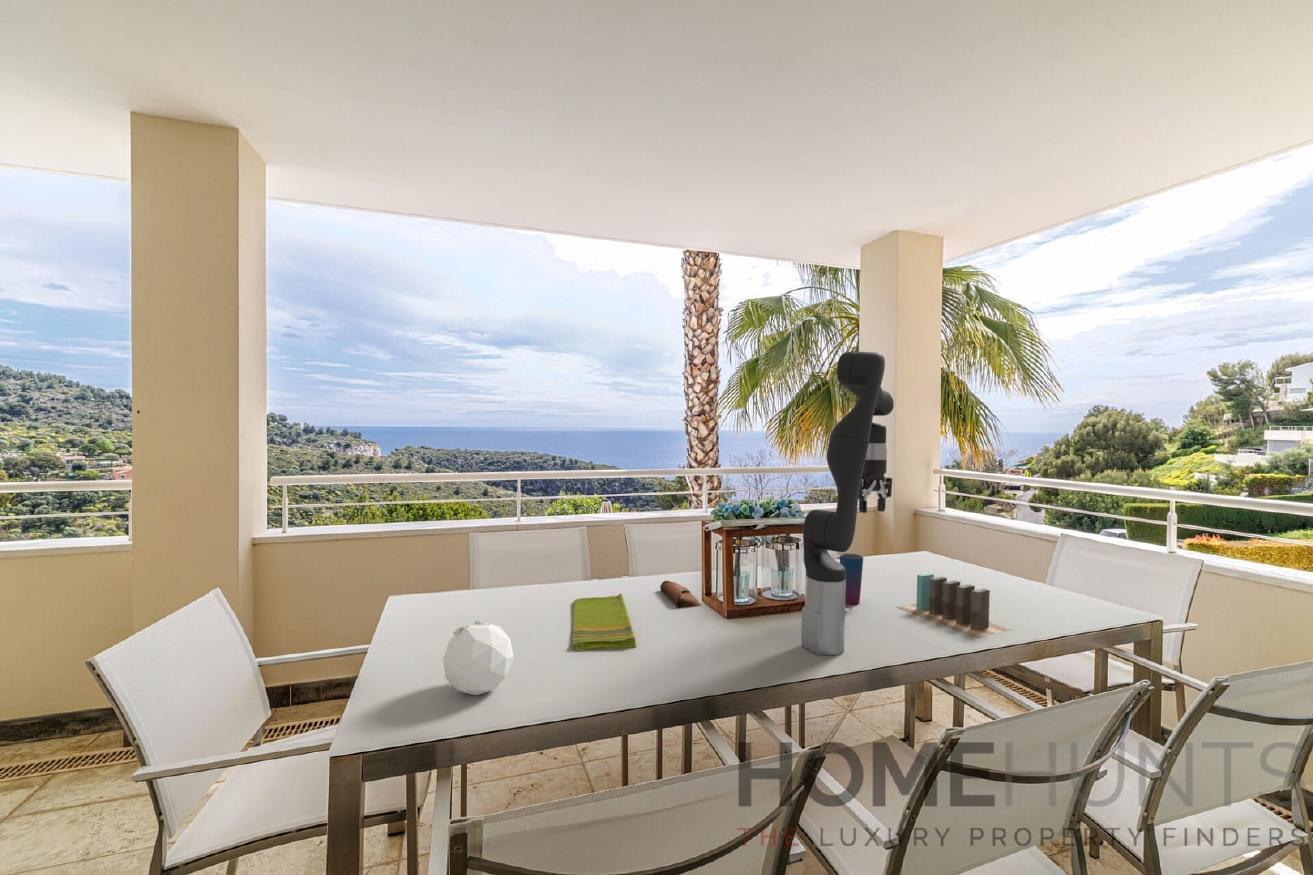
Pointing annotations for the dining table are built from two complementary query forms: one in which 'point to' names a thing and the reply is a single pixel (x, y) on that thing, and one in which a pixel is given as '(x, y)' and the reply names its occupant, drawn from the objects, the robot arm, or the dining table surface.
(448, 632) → the dining table surface
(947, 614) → the domino
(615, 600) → the dish towel
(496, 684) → the geodesic sphere
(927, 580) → the domino
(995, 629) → the board
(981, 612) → the domino
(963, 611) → the domino
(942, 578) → the domino
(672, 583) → the sunglasses case
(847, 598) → the cup
